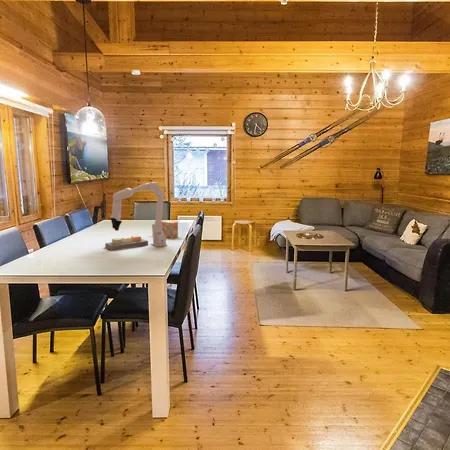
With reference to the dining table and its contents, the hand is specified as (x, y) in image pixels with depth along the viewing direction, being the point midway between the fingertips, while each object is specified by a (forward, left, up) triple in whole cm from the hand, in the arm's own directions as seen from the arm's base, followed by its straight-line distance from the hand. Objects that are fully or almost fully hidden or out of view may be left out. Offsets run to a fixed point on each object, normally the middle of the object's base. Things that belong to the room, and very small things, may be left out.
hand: (115, 229), depth 242 cm
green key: (-4, +1, -9) cm, 10 cm away
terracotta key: (-4, -13, -9) cm, 16 cm away
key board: (-4, -6, -12) cm, 14 cm away
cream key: (-4, -6, -9) cm, 12 cm away
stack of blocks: (+11, -45, -12) cm, 48 cm away
